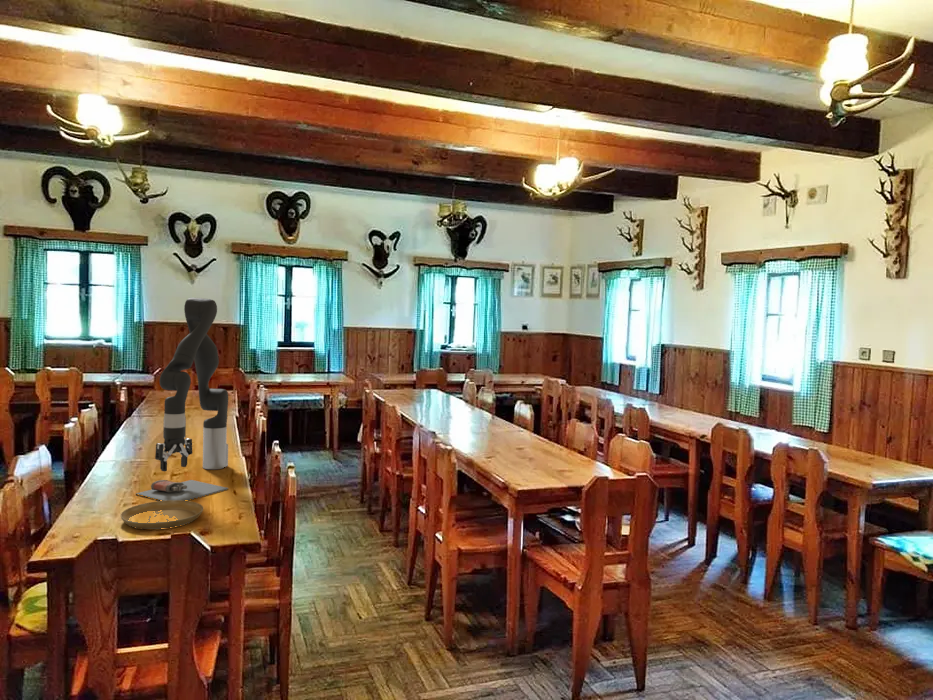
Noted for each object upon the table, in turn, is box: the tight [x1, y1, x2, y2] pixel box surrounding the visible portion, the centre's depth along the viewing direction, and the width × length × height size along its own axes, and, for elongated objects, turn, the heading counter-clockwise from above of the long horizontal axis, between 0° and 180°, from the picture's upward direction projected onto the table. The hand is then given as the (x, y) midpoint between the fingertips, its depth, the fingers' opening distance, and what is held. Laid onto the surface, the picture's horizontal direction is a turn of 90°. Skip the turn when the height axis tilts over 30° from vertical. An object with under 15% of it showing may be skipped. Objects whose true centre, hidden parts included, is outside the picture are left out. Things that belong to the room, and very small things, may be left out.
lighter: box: [150, 479, 187, 493], centre depth 250 cm, size 8×3×10 cm
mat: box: [135, 479, 229, 501], centre depth 251 cm, size 24×20×1 cm
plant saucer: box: [120, 500, 204, 530], centre depth 219 cm, size 24×24×3 cm
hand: (174, 468), depth 253 cm, fingers open, 8 cm apart
